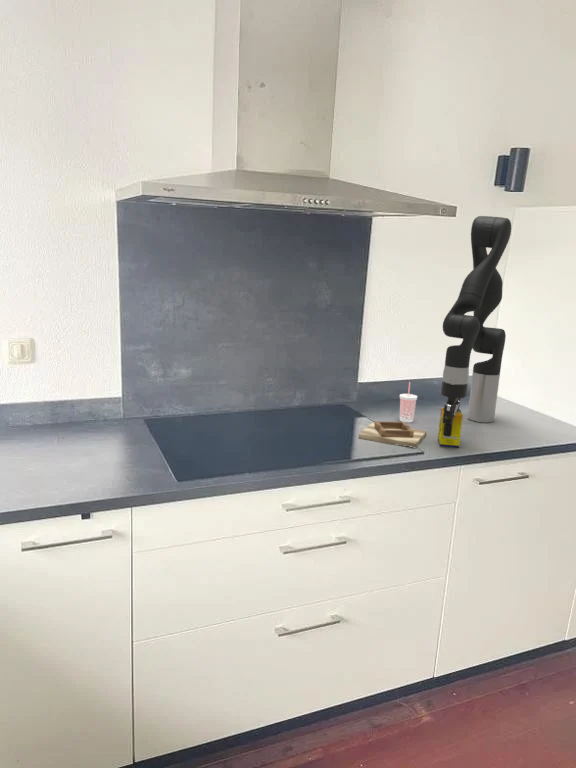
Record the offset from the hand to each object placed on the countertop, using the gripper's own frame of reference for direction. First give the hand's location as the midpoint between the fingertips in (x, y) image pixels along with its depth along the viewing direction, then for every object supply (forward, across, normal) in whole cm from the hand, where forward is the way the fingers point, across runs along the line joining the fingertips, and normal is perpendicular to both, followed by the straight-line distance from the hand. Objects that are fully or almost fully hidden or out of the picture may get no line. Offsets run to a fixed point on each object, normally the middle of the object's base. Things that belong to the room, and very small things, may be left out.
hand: (449, 432), depth 182 cm
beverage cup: (+4, -19, -18) cm, 27 cm away
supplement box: (+4, 0, 0) cm, 4 cm away
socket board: (+4, +2, -17) cm, 18 cm away
